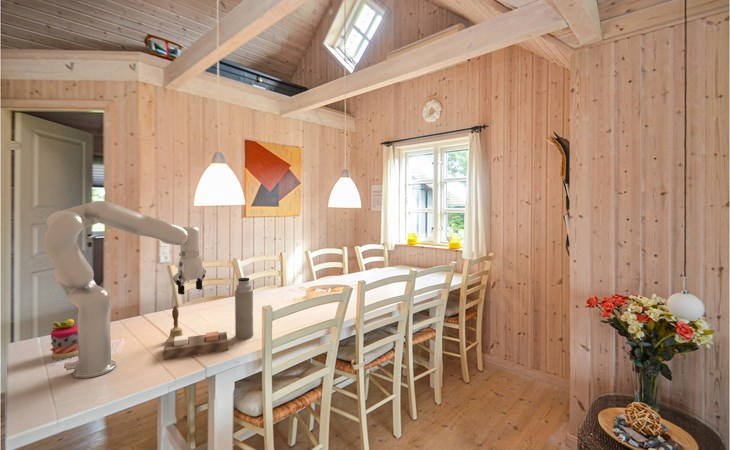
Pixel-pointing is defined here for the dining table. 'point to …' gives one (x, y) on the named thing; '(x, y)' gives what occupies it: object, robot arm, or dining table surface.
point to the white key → (181, 340)
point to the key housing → (195, 346)
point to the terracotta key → (212, 336)
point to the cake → (64, 340)
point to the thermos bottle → (243, 310)
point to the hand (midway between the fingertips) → (190, 291)
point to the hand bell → (175, 325)
